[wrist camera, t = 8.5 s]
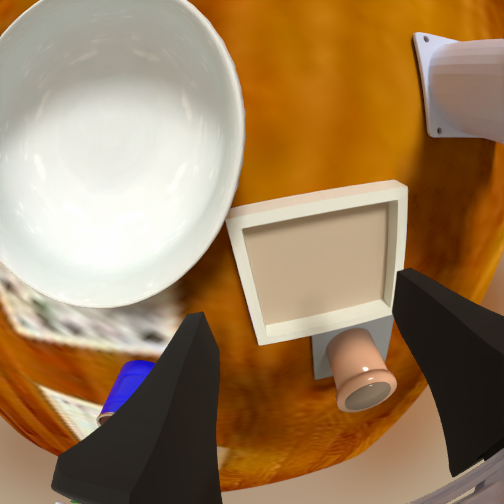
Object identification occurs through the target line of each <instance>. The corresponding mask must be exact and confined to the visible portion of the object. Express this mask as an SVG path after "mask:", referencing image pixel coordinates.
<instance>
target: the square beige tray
mask: <svg viewBox="0 0 504 504" xmlns="http://www.w3.org/2000/svg"><path fill="white" fill-rule="evenodd" d="M407 209H408V187H407V186H406V185H404V184H402V183H400V182H398V181H397V180H388V181H380V182H373V183H367V184H360V185H353V186H347V187H341V188H335V189H329V190H323V191H317V192H311V193H306V194H300V195H294V196H289V197H284V198H278V199H273V200H268V201H263V202H258V203H253V204H248V205H243V206H239V207H234V208H231V209H230V211H229V213H228V215H227V217H226V219H225V221H226V225H227V229H228V233H229V237H230V240H231V244H232V248H233V252H234V256H235V259H236V263H237V267H238V271H239V275H240V278H241V282H242V286H243V289H244V293H245V297H246V300H247V304H248V308H249V311H250V315H251V319H252V322H253V326H254V330H255V333H256V337H257V340H258V344H259V346H260V345H266V344H271V343H277V342H282V341H287V340H292V339H297V338H302V337H306V336H311V335H315V334H320V333H324V332H329V331H333V330H337V329H341V328H345V327H349V326H353V325H357V324H360V323H364V322H368V321H371V320H375V319H378V318H382V317H385V316H389V315H392V306H393V299H394V292H395V283H396V274H397V271H400V270H403V268H404V258H405V246H406V232H407Z"/></svg>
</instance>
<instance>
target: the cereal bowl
mask: <svg viewBox="0 0 504 504" xmlns="http://www.w3.org/2000/svg"><path fill="white" fill-rule="evenodd" d="M245 114H246V112H245V109H244V101H243V98H242V88H241V85H240V82H239V77H238V75H237V73H236V68H235V64H234V62H233V60H232V59H231V56H230V54H229V53H228V51H227V48H226V46H225V43H224V41H223V40H222V39H221V37H220V36H219V35H218V33H217V32H216V30H215V29H214V28H213V26H212V24H211V23H210V22H209V21H208V20H207V19H206V18H205V17H204V16H203V15H202V13H201V12H200V11H199V10H198V9H197V8H196V7H195V6H194V5H192V4H191V3H190V2H188V1H187V0H40V1H38V2H37V3H36V4H34V5H33V6H32V7H30V8H29V9H28V10H26V11H25V12H24V13H23V14H22V15H20V16H19V17H18V18H17V19H16V20H15V21H14V22H13V23H12V24H11V25H10V27H9V28H8V29H7V30H6V31H5V32H4V33H3V34H2V36H1V37H0V261H1V262H2V263H3V265H4V266H5V267H6V268H7V269H8V270H10V271H11V272H12V273H13V274H14V275H15V276H16V277H17V278H18V279H20V280H21V281H22V282H24V283H25V284H26V285H28V286H29V287H31V288H32V289H34V290H35V291H37V292H39V293H41V294H43V295H45V296H47V297H49V298H51V299H54V300H56V301H59V302H62V303H65V304H69V305H73V306H78V307H84V308H96V309H106V308H116V307H122V306H127V305H131V304H134V303H137V302H140V301H143V300H145V299H148V298H150V297H152V296H154V295H156V294H158V293H160V292H161V291H163V290H165V289H167V288H168V287H169V286H171V285H172V284H174V283H175V282H176V281H177V280H179V279H180V278H181V277H182V276H183V275H184V274H185V273H187V272H188V271H189V270H190V269H191V268H192V267H193V266H194V265H195V264H196V263H197V262H198V261H199V259H200V258H201V257H202V256H203V254H204V253H205V252H206V251H207V250H208V248H209V247H210V245H211V244H212V242H213V241H214V239H215V238H216V236H217V235H218V233H219V232H220V230H221V227H222V225H223V223H224V221H225V219H226V217H227V215H228V213H229V211H230V209H231V205H232V201H233V198H234V195H235V193H236V190H237V188H238V182H239V176H240V174H241V168H242V165H243V153H244V149H245V147H244V144H245V140H246V132H245V126H246V124H245Z"/></svg>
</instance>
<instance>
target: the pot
mask: <svg viewBox="0 0 504 504" xmlns="http://www.w3.org/2000/svg"><path fill="white" fill-rule="evenodd" d="M326 354H327V357H328V360H329V364H330V367H331V371H332V374H333V378H334V381H335V384H336V388H337V393H336V401H337V405H338V408H339V409H340V410H341V411H344V412H359V411H363V410H367V409H369V408H372V407H374V406H376V405H378V404H380V403H382V402H383V401H385V400H386V399H387V398H388V397H390V396H391V395H392V393H393V392H394V391H395V389H396V387H397V381H396V379H395V377H394V375H393V373H392V372H391V371H389V370H387V368H386V366H385V363H384V361H383V359H382V357H381V355H380V353H379V350H378V348H377V346H376V344H375V342H374V340H373V338H372V336H371V333H370V332H369V331H368V330H366V329H363V328H352V329H348V330H345V331H343V332H341V333H339V334H338V335H336V336H335V337H334V338H333V339H332V340H331V341H330V342H329V343H328V345H327V348H326Z"/></svg>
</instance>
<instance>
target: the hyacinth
mask: <svg viewBox="0 0 504 504" xmlns="http://www.w3.org/2000/svg"><path fill="white" fill-rule="evenodd" d="M154 365H155V363H152V362H148V361H141V360H135V361H130V362H127V363H126V364H124V365H123V367H122V369H121V371H120V373H119V375H118V377H117V380H116V381H115V383H114V385H113V388H112V390H111V392H110V394H109V396H108V398H107V401H106V403H105V405H104V407H103V409H102V411H101V413H100V415H98V417H97V424H98V426H99V427H100V426H101V425H102V424H103V423H104V422H106V421H107V420H108V419H109V418H110V417H111V416H112V415H113V414H114V413H115V412H116V411H117V410H118V409H119V408H120V407H121V406H122V405H123V404H124V403H125V402H126V401H127V400H128V399H129V397H130V396H131V395H132V394H133V393H134V392H135V391H136V389H137V388H138V387H139V386H140V384H141V383H142V382H143V381H144V379H145V378H146V377H147V375H148V374H149V372H150V371H151V370H152V368H153V367H154ZM71 502H72V503H78V502H76V501H74V500H72V501H71ZM79 504H80V503H79Z"/></svg>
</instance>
